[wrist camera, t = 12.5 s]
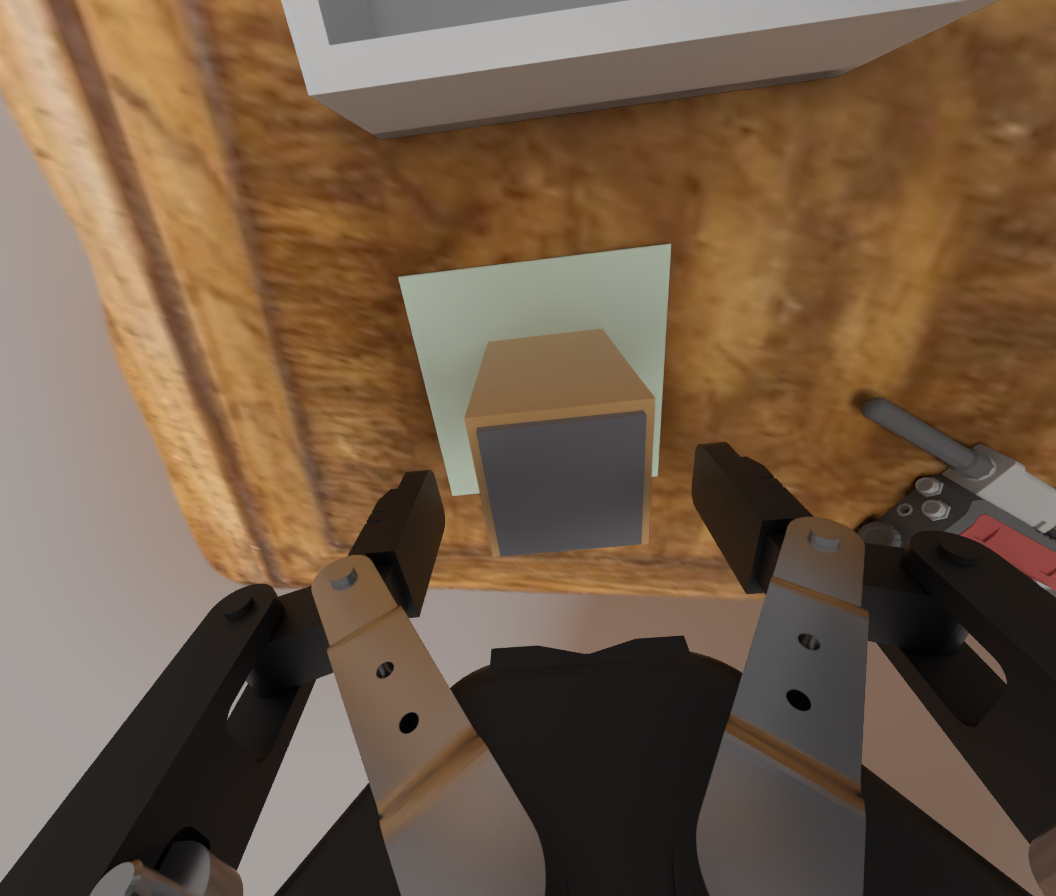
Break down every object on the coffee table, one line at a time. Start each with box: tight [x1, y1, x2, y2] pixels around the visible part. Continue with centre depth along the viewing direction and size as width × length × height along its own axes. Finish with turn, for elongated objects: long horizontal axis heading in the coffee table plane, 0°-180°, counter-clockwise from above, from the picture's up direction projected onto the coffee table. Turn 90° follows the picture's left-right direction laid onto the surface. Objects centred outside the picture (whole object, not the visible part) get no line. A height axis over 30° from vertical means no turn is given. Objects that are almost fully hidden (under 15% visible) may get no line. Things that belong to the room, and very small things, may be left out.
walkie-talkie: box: [857, 398, 1056, 597], centre depth 21 cm, size 9×4×20 cm
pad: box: [398, 244, 671, 496], centre depth 19 cm, size 11×11×1 cm
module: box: [464, 329, 656, 557], centre depth 15 cm, size 5×5×8 cm
